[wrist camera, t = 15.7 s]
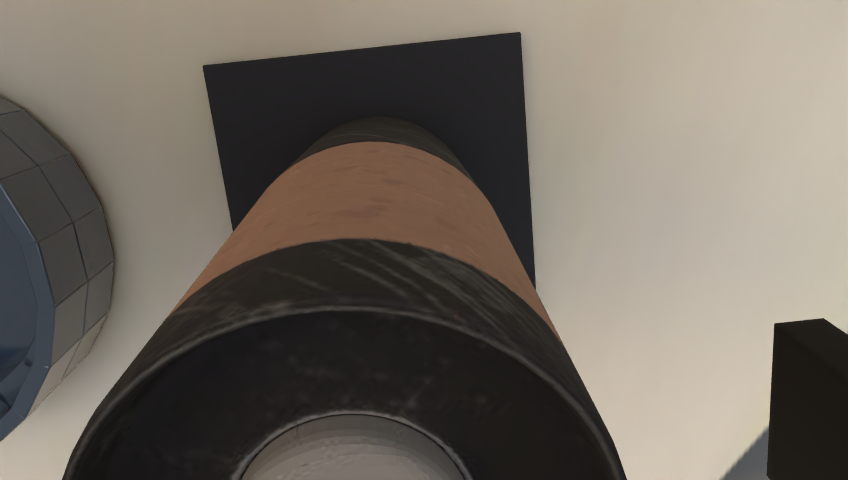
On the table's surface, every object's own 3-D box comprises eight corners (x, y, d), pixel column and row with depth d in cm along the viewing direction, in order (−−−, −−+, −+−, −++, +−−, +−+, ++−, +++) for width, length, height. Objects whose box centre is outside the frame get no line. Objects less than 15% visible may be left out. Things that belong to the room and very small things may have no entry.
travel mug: (275, 112, 27) (-26, 306, 8) (474, 104, 27) (667, 273, 8) (293, 299, 29) (93, 818, 10) (477, 290, 29) (635, 780, 10)
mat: (204, 65, 27) (202, 65, 26) (518, 32, 27) (520, 32, 26) (257, 352, 30) (255, 356, 30) (536, 322, 30) (538, 325, 30)
